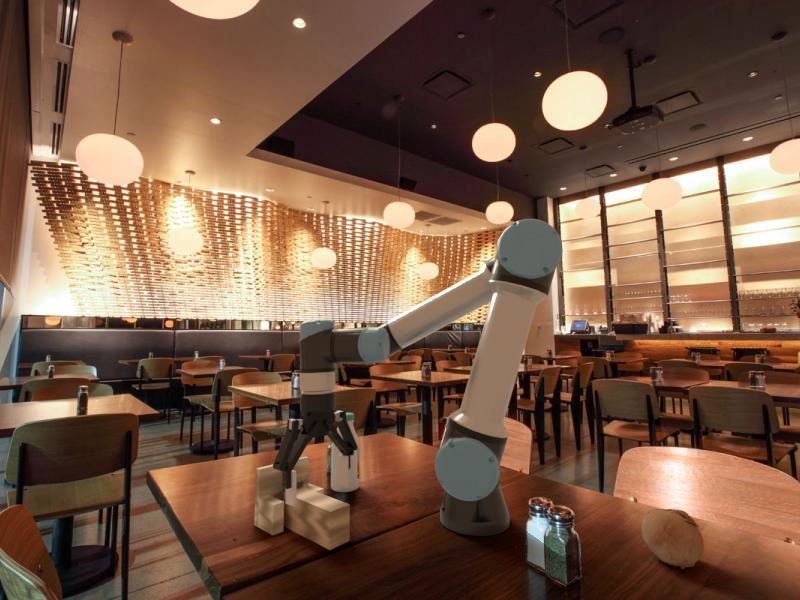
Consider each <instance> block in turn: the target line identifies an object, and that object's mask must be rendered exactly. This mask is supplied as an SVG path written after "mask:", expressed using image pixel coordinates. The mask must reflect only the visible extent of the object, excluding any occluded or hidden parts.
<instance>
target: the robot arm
mask: <svg viewBox="0 0 800 600" xmlns="http://www.w3.org/2000/svg"><path fill="white" fill-rule="evenodd" d="M562 242H563V240H562V239H561V236H560V235H559V233H558V231H557V230H556V228H555V227H553V226H552V225H550V223H548V222H546V221H544V220H541V219H537V218H524V219H519V220H517V221H515V222H513V223H511V224H510V225H508V226H507V227H506V228H505V229H504V230H503V231H502V233H501V234H500V236H499V238H498V239H497V243H496V254H495V256H493V257H492V258H491V259H489V260H487V261H485V262H484V263H482V266H481V269H480V270H479V271H477V272H475V273H473V274H471V275H469V276H467V277H466V278H463V280H460V281H459V282H457V283H455V284H453V285H451V286H450V287H447V288H446V289H444V290H442V291H441V292H439V293H437V294H435V295H433V296H432V297H429V298H428V299H426V300H424V301H422V302H421V303H419V304H417V305H415V306H414V307H412V308H409V309H408V310H407V311H405V312H403V313H401V314H399V315H398V316H395V317H393V318H392V319H390V320H388V321H387V322H385V323H383V324H381V325H379V326H378V327H377V326H366V327H353V328H336V327H335V323H334V321H333V320H330V319H329V320H328V319H320V320H319V319H317V320H315V319H314V320H313V319H312V320H306V321H302V322H301V324H300V325H299V340H298V343H299V391H300V392H302V393H301V394H300V396H299V410H300V413H301V414H300V415H301V416H300V418H299V419H297V418H296V419H295V418H288V419H287V422H286V430H285V433H284V436H283V438H282V441H281V444H280V446H279V449H278V451H277V454H276V456H275V459H274V462H273V468H274V469H276V470H279V471H282V486H283V488H285V489H286V504H288V505H291V506H296V505H297V499H296V471H294V470H293V468H294V467H295V465H296V463H297V461H298V460H299V458H300V457H302V454H303V453H304V452H305V449H306V447H307V446H308V444H309V442H311V441H312V440H313V439H316V438H319V437H325V436H327V437H328V439H330V441H331V443H332V442H333V443H334V444H335V446H336V447H337V448H338V449H339V451H340V452H341V453H342V455H341V454H340V455H338V484H339V485H340V486H343V487H349V469H350V467H351V460H350V455H351V456H352V455H353V454H354V450H357V448H358V446H357V444H356V441H355V439H354V437H353V434H352V432H351V430H350V427H349V425H348V423H347V419H346V413H347V412H346V411H344V410H335V409H336V393H335V392H334V390H335V389H336V364H337V365H338V364H340V365H341V364H370V365H372V364H377V363H384V362H386V361H387V360H388V359H390V358H391V357H393V356H394V354H397V353H398V352H400V351H402V350H403V349H405V348H406V347H409V346H411V345H412V344H415V343H416V342H418V341H420V340H421V339H424V338H425V337H428V336H429V335H431V334H433V333H436V332H437V331H438V330H441V329H443V328H444V327H446V326H447V325H450V324H451V323H454V322H456V321H457V320H460V319H462V318H463V317H466V316H467V315H468V314H471V313H472V312H474V311H476V310H479V309H480V308H482V307H484V306H485V305H487V304H489V303H490V304H489V307H488V310H487V314H486V317H485V321H484V325H483V328H482V331H481V334H480V338H479V342H478V345H477V349H476V352H475V356H474V359H473V361H472V362H473V363H472V365H471V366H472V367H471V369H470V373H469V377H468V380H467V383H466V386H465V391H464V394H463V397H462V401H461V405H460V407H459V408H458V409H457V410H455V411H453V412H451V413H450V415H449V416H448V417H447V418H446V424H445V431H444V435H443V438H442V442H441V445H440V447H439V448H438V450H437V452H436V455H435V458H434V470H435V474H436V478H437V481H438V483H439V484H440V485H441V487H442V488H443V490H444V491H445V492H444V494H443V495H444V496H443V498H442V501H441V505H440V507H439V508H440V509H439V510H440V512H439V519H440V523H441V524H442V526H443V527H445V528H446V529H448V530H450V531H451V532H454V533H457V534H461V535H466V536H473V537H486V536H487V537H488V536H489V537H490V536H495V535H499V534H501V533H503V532H505V531H507V530H508V529H509V527H510V513H509V509H508V506H507V504H506V499H505V497H504V494H503V492H502V490H503V489H502V488H501V474H500V472H501V469H500V468H501V467H500V466H501V462H502V459H503V455H504V452H505V448H506V446H507V445H506V444H507V441H508V439H509V438H508V437H509V432H508V430H507V429H506V427H505V425H504V423H505V418H506V415H507V412H508V407H509V405H510V401H511V397H512V393H513V390H514V386H515V383H516V380H517V377H518V373H519V369H520V365H521V362H522V359H523V355H524V351H525V348H526V345H527V341H528V337H529V333H530V330H531V326H532V323H533V319H534V316H535V312H536V309H537V306H538V305H539V303H541V302H543V301H544V300H546V299H548V297H549V293H550V291H551V286H552V283H553V280H554V276H555V273H556V269H557V267H558V266H559V264H560V263H561V260H562V258H563V251H564V249H563V243H562ZM334 423H336V426H337V428H339V431H340V433H341V435H342V437H341V436H340V435H339V434H338V431H337V428H336V427H335V425H334ZM299 430H300V431H299ZM342 438H343V439H342Z"/></svg>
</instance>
